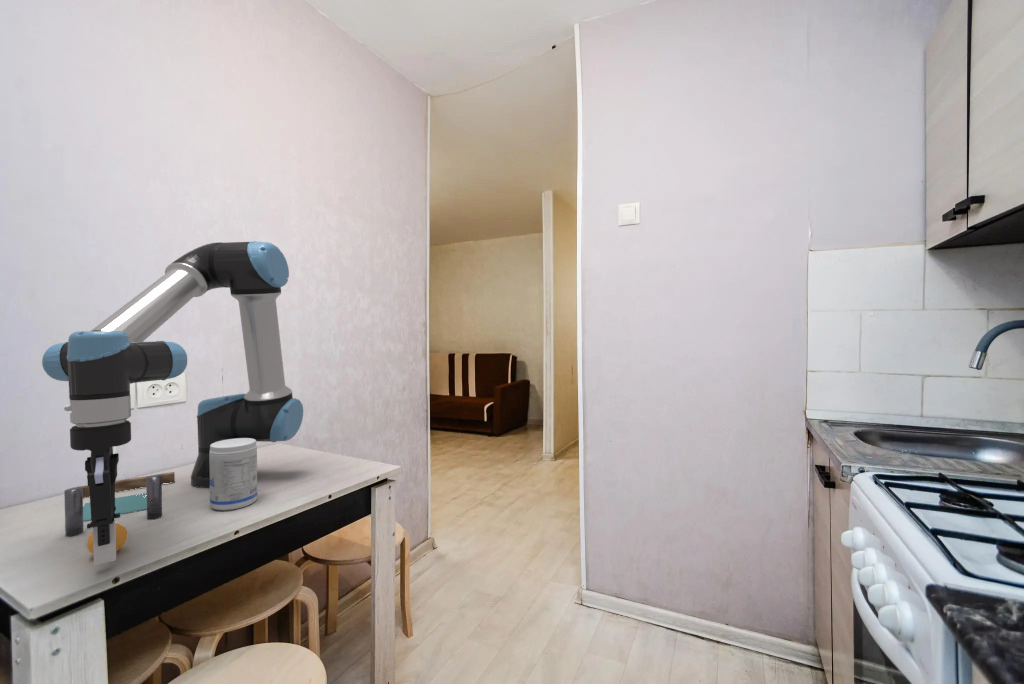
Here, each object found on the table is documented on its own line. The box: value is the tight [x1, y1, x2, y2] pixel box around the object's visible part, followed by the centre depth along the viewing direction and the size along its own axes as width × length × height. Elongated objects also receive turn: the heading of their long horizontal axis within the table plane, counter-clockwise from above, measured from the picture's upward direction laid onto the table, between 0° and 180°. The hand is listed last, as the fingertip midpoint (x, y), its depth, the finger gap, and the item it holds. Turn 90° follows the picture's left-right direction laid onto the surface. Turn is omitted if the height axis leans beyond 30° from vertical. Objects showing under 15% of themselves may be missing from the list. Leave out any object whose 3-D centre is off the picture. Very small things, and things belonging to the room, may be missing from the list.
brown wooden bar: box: [73, 471, 176, 498], centre depth 115 cm, size 20×2×2 cm, turn 128°
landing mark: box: [83, 492, 147, 523], centre depth 104 cm, size 14×14×1 cm
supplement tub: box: [209, 438, 258, 511], centre depth 104 cm, size 10×10×15 cm
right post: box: [145, 474, 163, 520], centre depth 97 cm, size 3×3×9 cm
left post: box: [63, 486, 84, 538], centre depth 89 cm, size 3×3×9 cm
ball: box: [86, 522, 129, 555], centre depth 80 cm, size 6×6×6 cm
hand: (105, 561), depth 75 cm, fingers closed
